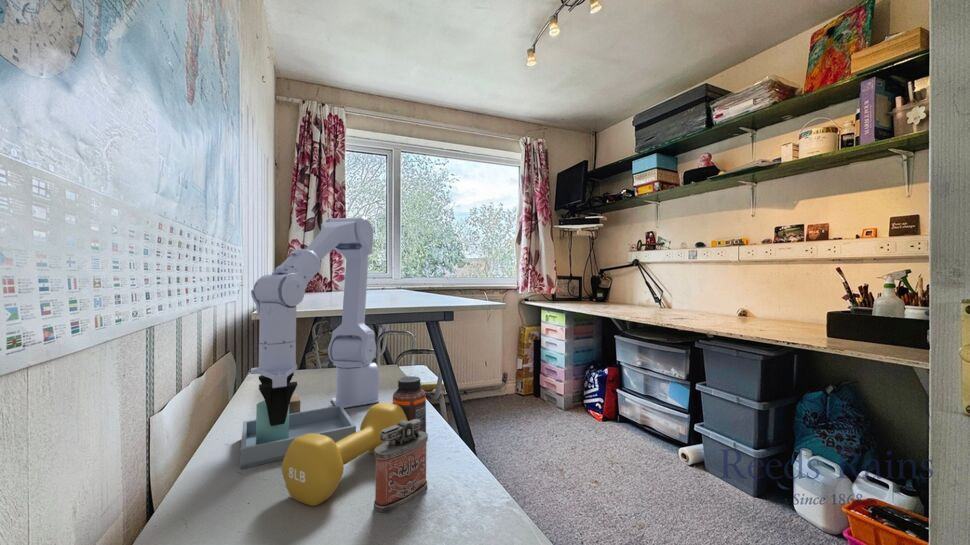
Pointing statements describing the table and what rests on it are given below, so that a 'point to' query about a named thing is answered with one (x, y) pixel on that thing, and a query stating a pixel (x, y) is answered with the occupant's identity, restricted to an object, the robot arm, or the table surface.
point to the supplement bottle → (411, 399)
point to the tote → (295, 434)
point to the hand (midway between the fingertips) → (276, 418)
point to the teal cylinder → (269, 426)
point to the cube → (294, 404)
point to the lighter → (400, 466)
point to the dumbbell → (333, 455)
